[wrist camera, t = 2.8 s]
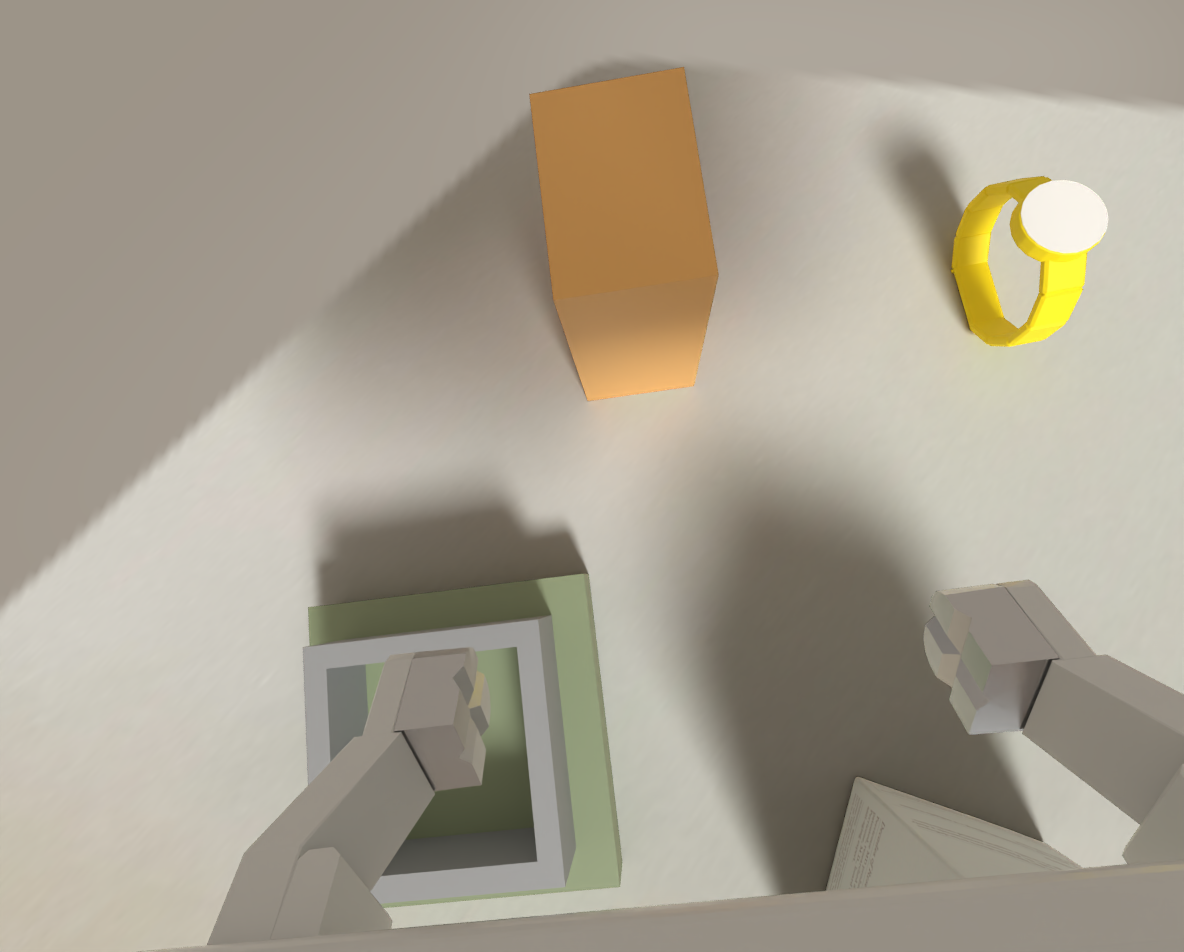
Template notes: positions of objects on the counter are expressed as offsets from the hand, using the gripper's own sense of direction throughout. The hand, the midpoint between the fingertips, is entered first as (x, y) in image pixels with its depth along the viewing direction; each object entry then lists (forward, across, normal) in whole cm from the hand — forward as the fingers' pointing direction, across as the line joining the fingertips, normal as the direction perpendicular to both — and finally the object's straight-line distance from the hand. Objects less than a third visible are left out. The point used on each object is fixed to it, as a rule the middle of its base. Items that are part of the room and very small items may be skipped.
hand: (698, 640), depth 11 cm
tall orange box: (+18, 0, +2) cm, 19 cm away
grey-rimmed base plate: (+8, +9, +13) cm, 17 cm away
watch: (+18, -14, +2) cm, 24 cm away
